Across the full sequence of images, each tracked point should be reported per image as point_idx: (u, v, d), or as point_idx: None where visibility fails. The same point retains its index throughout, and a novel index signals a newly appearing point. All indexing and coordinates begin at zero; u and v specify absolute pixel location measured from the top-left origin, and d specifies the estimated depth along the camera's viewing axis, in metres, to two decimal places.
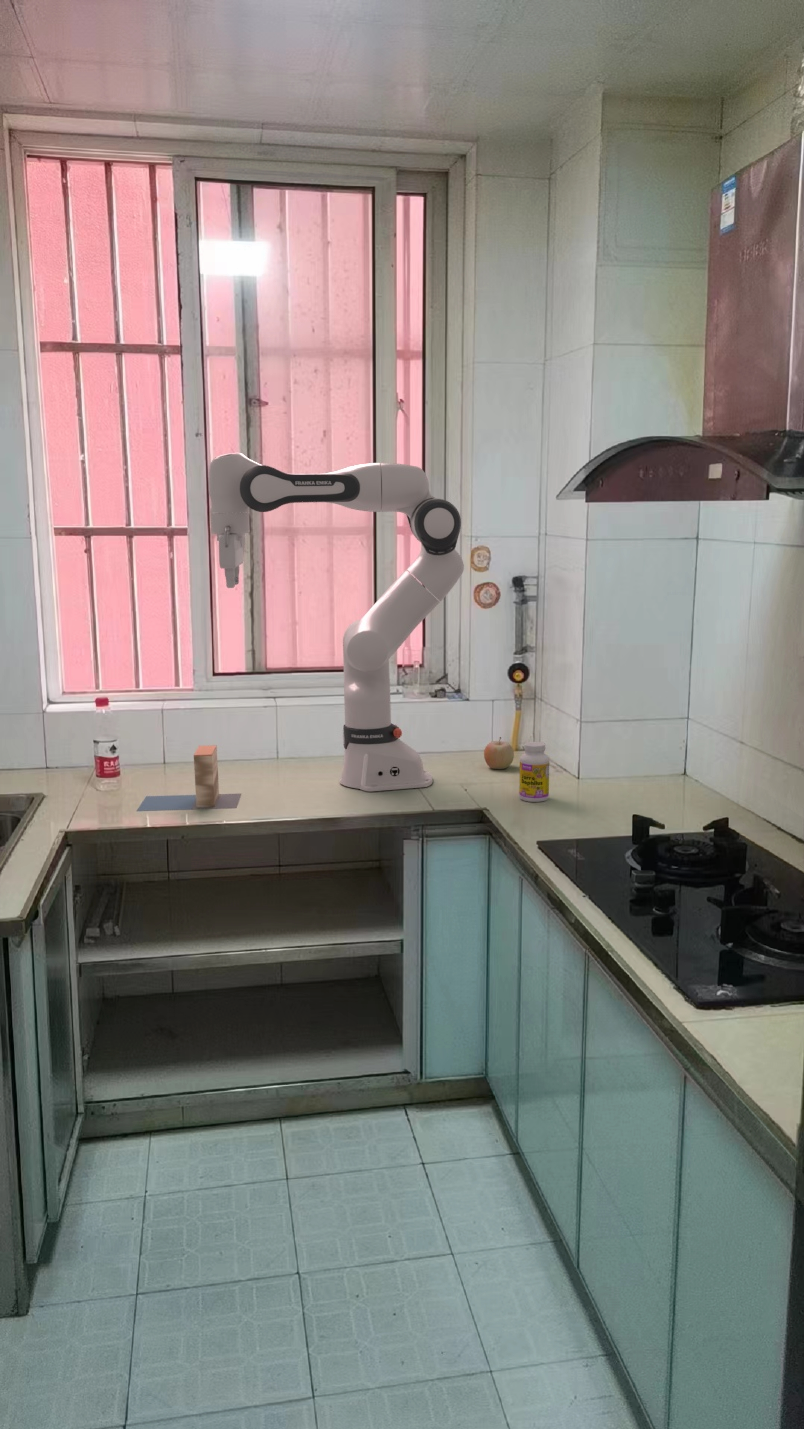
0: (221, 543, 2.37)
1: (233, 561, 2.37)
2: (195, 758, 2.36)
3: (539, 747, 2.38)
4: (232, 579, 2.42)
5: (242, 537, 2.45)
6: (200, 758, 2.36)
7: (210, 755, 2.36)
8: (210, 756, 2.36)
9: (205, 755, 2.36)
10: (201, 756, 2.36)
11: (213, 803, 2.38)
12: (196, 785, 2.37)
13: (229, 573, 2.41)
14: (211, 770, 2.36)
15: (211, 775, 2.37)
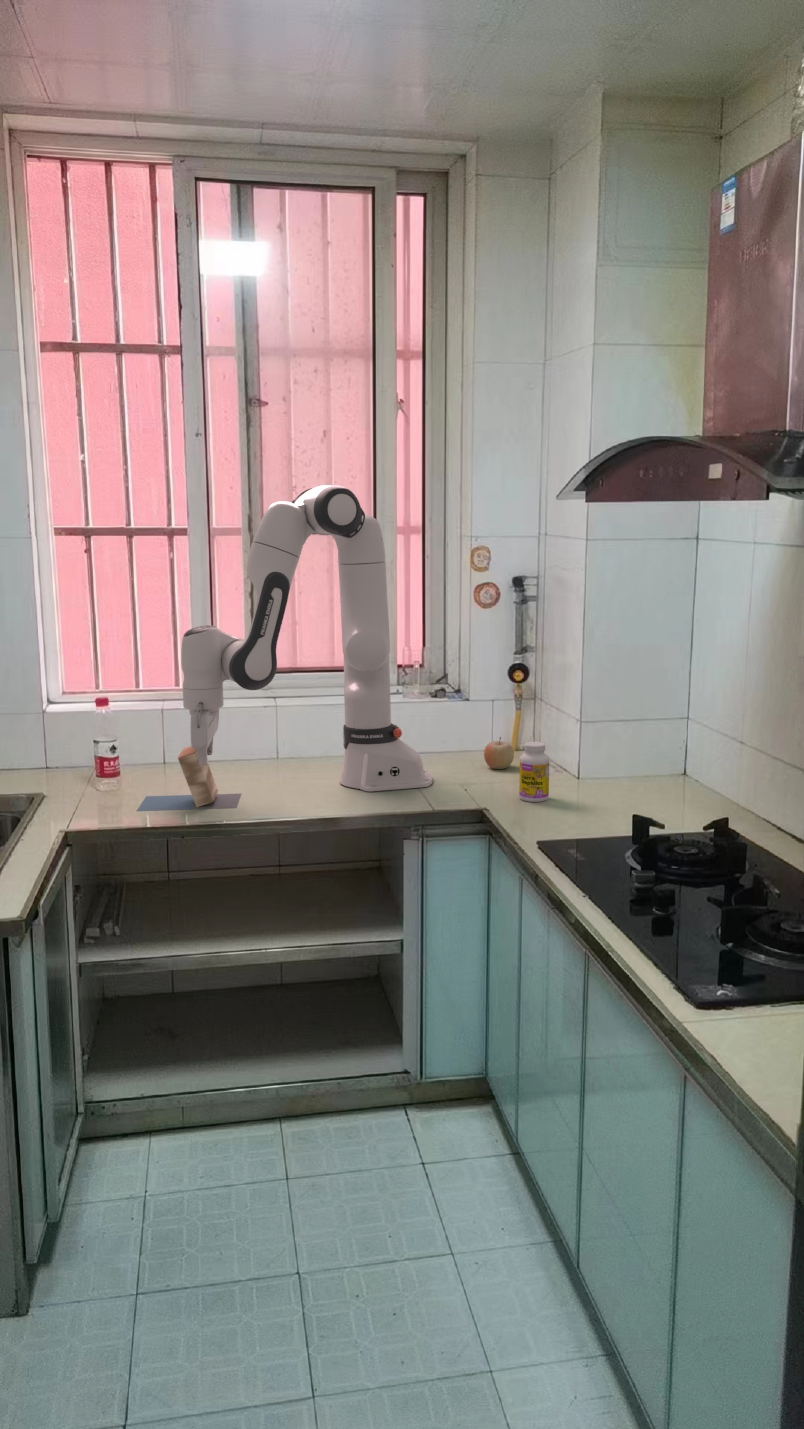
0: (192, 724, 2.29)
1: (205, 742, 2.29)
2: (180, 760, 2.35)
3: (539, 747, 2.38)
4: (205, 756, 2.34)
5: (215, 711, 2.37)
6: (185, 759, 2.35)
7: (193, 753, 2.35)
8: (194, 754, 2.35)
9: (189, 754, 2.35)
10: (185, 757, 2.35)
11: (211, 798, 2.38)
12: (189, 786, 2.37)
13: (201, 751, 2.33)
14: (199, 767, 2.36)
15: (200, 772, 2.36)
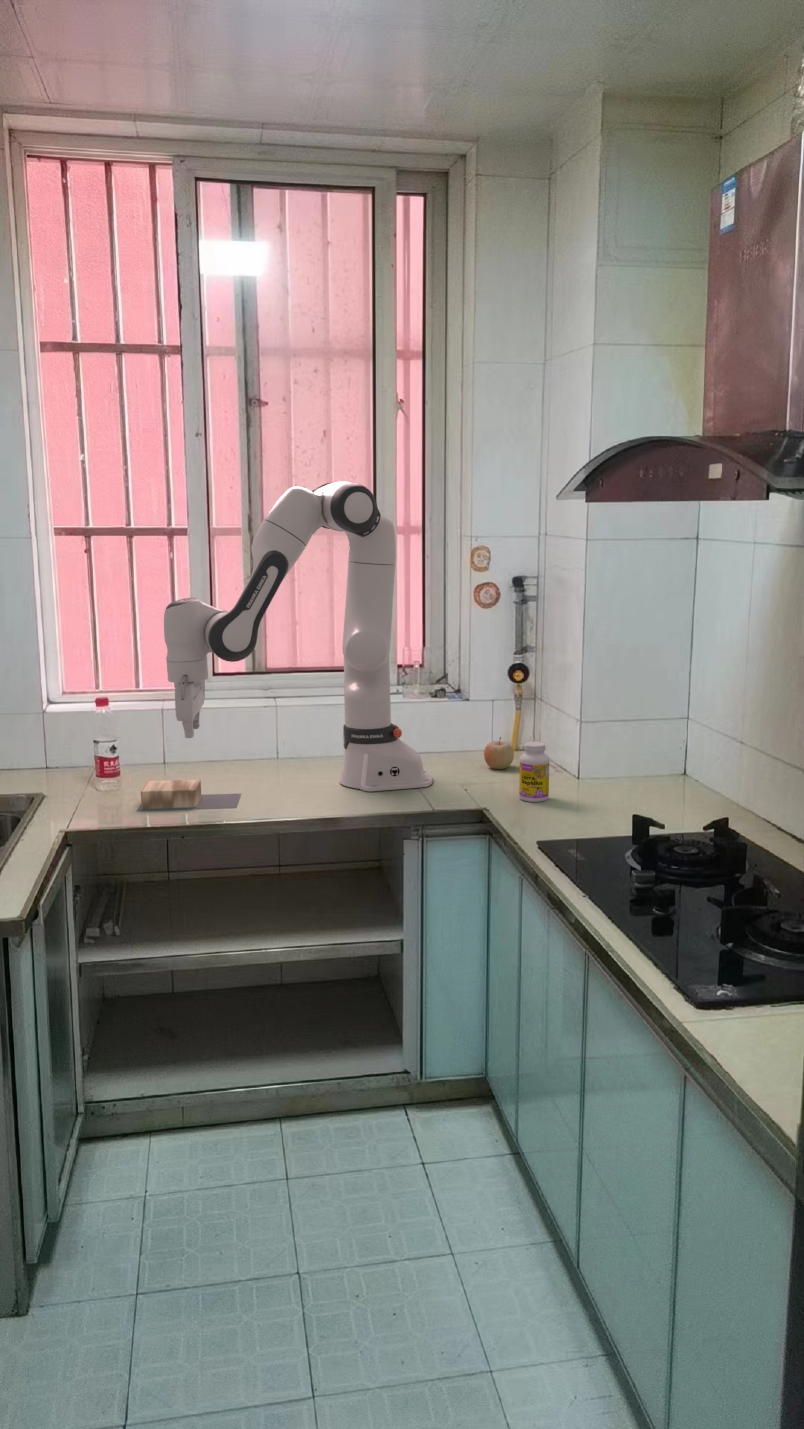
0: (177, 696, 2.28)
1: (190, 714, 2.28)
2: (145, 807, 2.37)
3: (539, 747, 2.38)
4: (190, 729, 2.33)
5: (200, 684, 2.36)
6: (145, 802, 2.37)
7: (141, 792, 2.36)
8: (142, 792, 2.36)
9: (142, 797, 2.37)
10: (143, 801, 2.37)
11: (191, 791, 2.37)
12: (173, 806, 2.37)
13: (187, 724, 2.32)
14: (157, 792, 2.37)
15: (162, 792, 2.37)
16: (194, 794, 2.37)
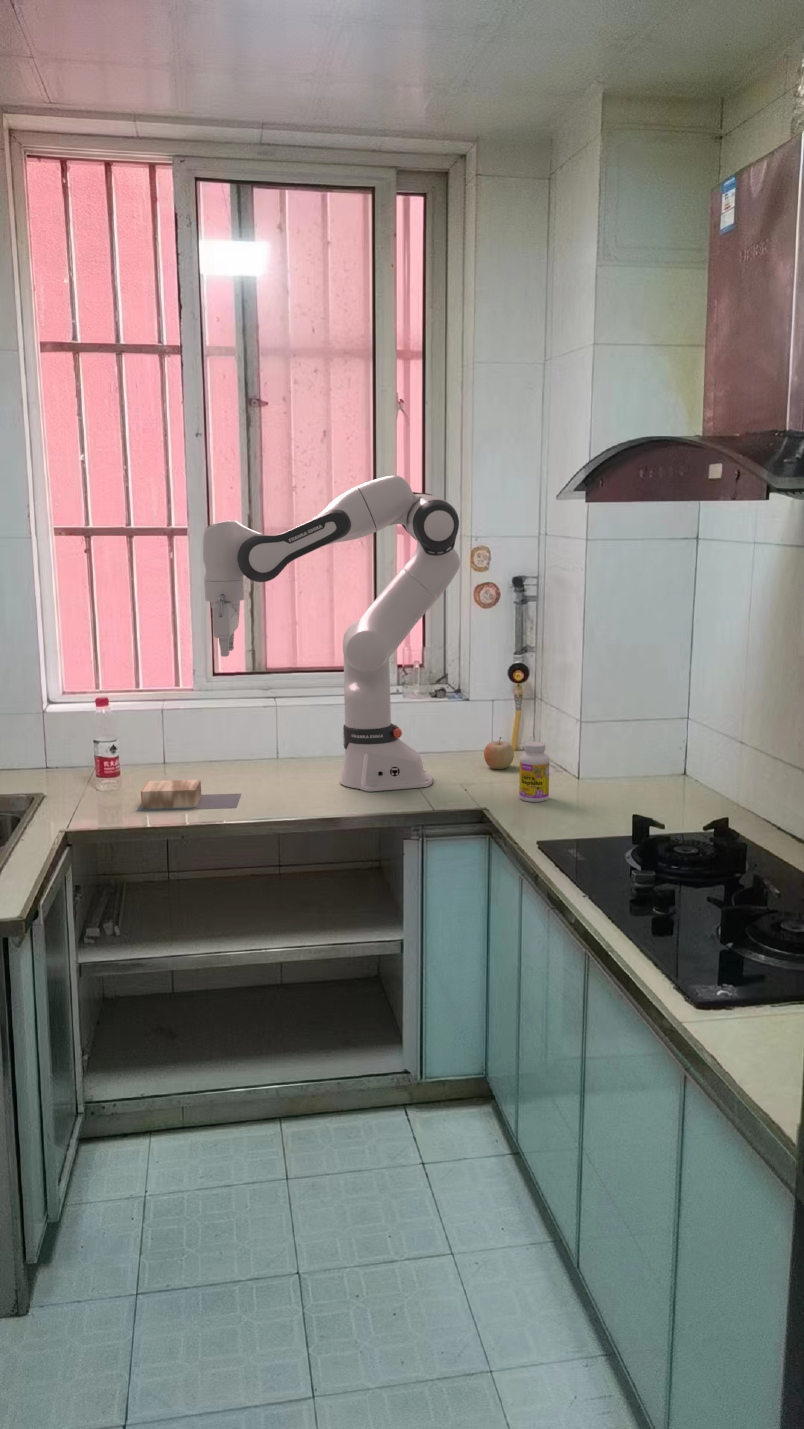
0: (215, 613, 2.33)
1: (227, 631, 2.34)
2: (145, 807, 2.37)
3: (539, 747, 2.38)
4: (226, 648, 2.39)
5: (237, 604, 2.42)
6: (145, 802, 2.37)
7: (141, 792, 2.36)
8: (142, 792, 2.36)
9: (142, 797, 2.37)
10: (143, 801, 2.37)
11: (191, 791, 2.37)
12: (173, 806, 2.37)
13: (223, 642, 2.38)
14: (157, 792, 2.37)
15: (162, 792, 2.37)
16: (194, 794, 2.37)
